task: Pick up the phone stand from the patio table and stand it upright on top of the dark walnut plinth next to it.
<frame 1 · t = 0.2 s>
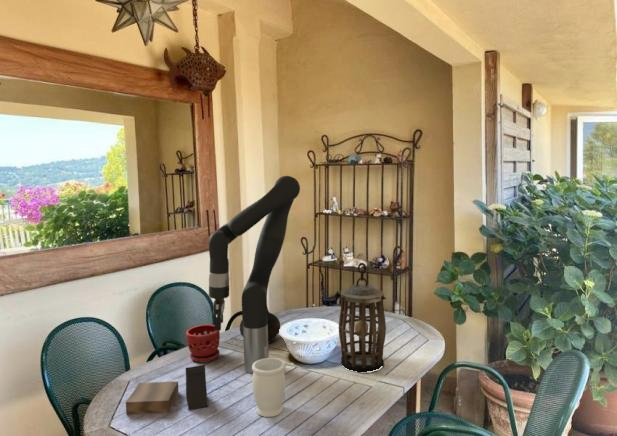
hand: (219, 326, 167), 17 cm above the table, tool pointing down, fingers open, 8 cm apart
black rounded vessel: (260, 341, 200), on the table
phone stand: (196, 402, 146), on the table
walnut plinth: (153, 403, 146), on the table
jar: (269, 411, 140), on the table
plant pot: (204, 358, 182), on the table
lantern: (362, 364, 174), on the table
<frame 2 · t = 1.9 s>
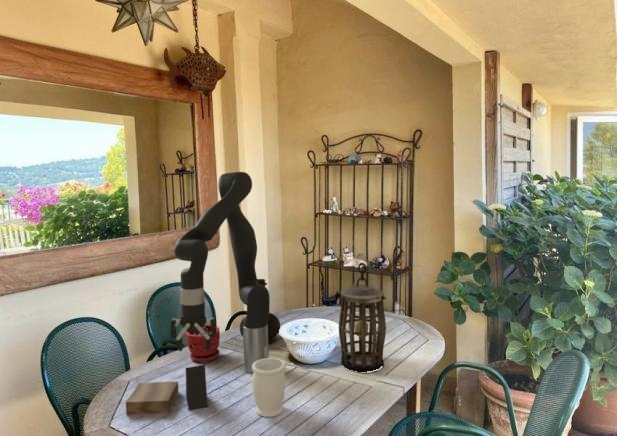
hand: (194, 349, 144), 18 cm above the table, tool pointing down, fingers open, 8 cm apart
nothing on the table moved.
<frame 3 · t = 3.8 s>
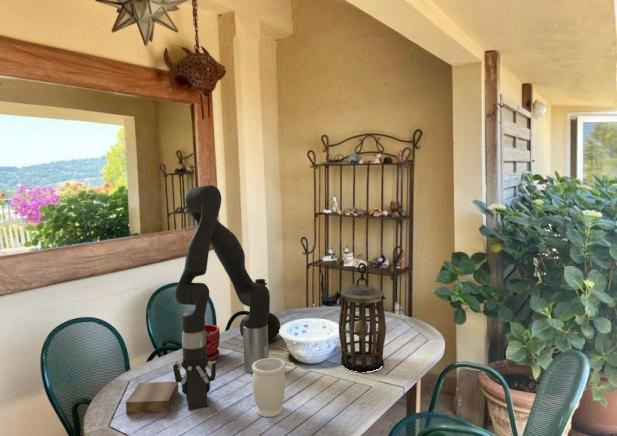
hand: (196, 392, 146), 3 cm above the table, tool pointing down, fingers closed on phone stand, 6 cm apart
phone stand: (196, 402, 146), on the table, touching gripper
everything else where it was.
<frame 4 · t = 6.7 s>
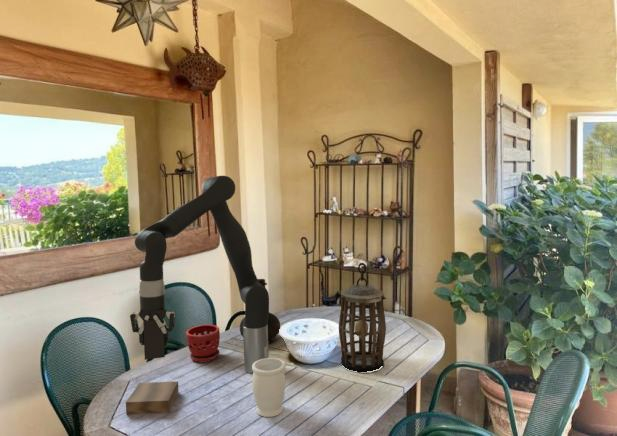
hand: (153, 343, 144), 20 cm above the table, tool pointing down, fingers closed on phone stand, 6 cm apart
phone stand: (154, 354, 144), point 17 cm above the table, touching gripper
everything else where it was.
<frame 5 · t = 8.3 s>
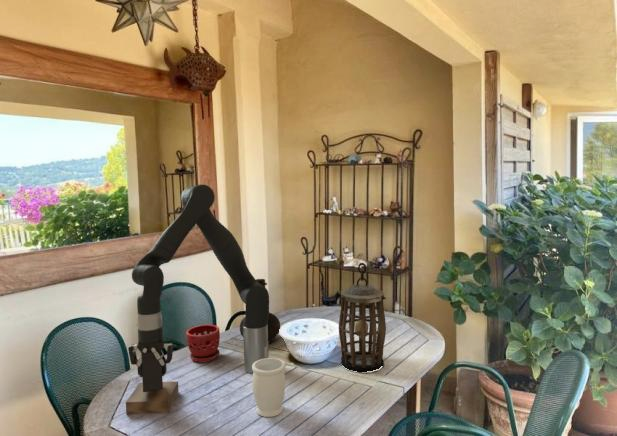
hand: (152, 375, 145), 9 cm above the table, tool pointing down, fingers closed on phone stand, 6 cm apart
phone stand: (152, 385, 145), point 6 cm above the table, touching gripper
everything else where it was.
when the fingers open (8 cm above the table, at t = 9.4 s): phone stand drops 1 cm, resting on walnut plinth.
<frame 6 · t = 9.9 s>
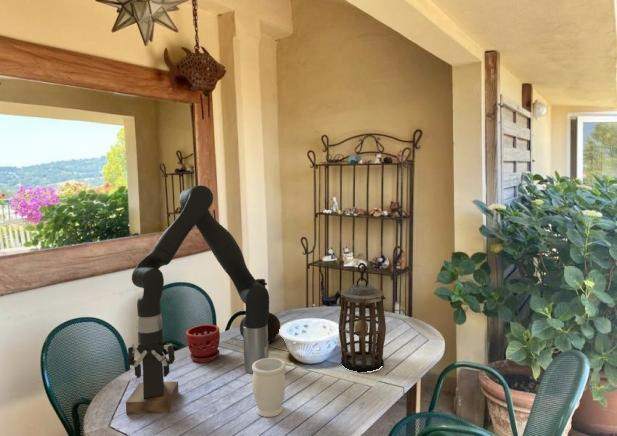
hand: (152, 376, 145), 9 cm above the table, tool pointing down, fingers open, 8 cm apart
phone stand: (154, 391, 145), point 4 cm above the table, touching walnut plinth
everything else where it was.
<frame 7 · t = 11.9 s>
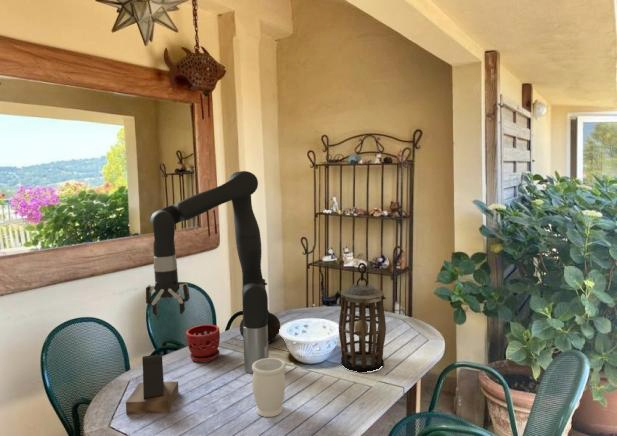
hand: (169, 314, 155), 26 cm above the table, tool pointing down, fingers open, 8 cm apart
nothing on the table moved.
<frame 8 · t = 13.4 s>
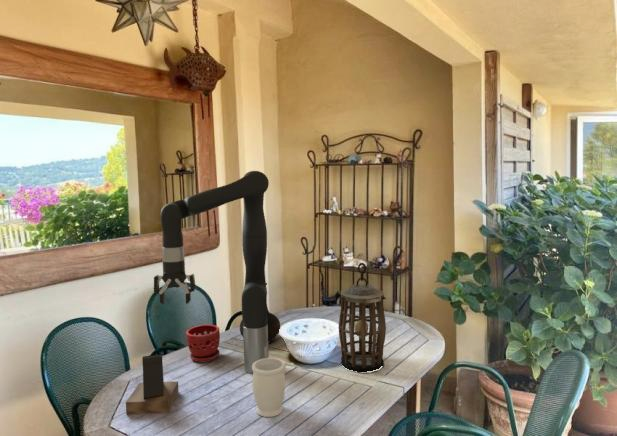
hand: (175, 303, 161), 28 cm above the table, tool pointing down, fingers open, 8 cm apart
nothing on the table moved.
at the end: phone stand inside the target area on the walnut plinth (0.3 cm from its centre), point 3.8 cm above the walnut plinth's base; phone stand tilted 0°; the gripper is holding nothing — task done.
